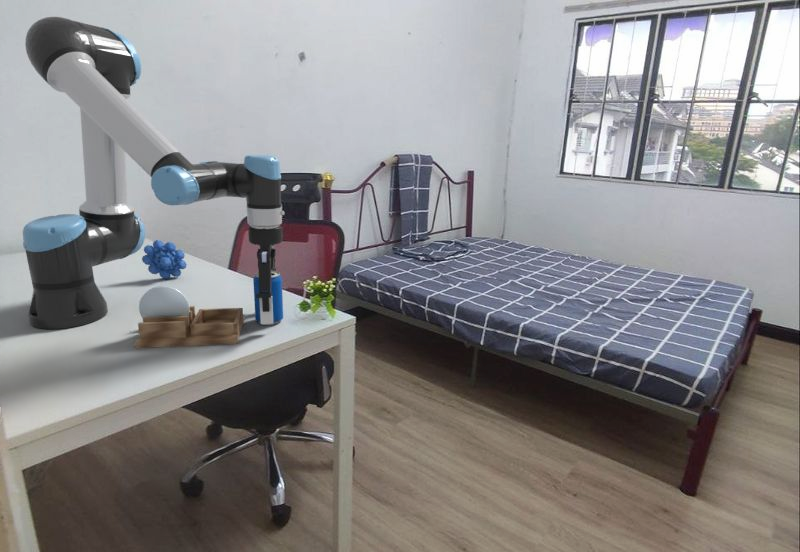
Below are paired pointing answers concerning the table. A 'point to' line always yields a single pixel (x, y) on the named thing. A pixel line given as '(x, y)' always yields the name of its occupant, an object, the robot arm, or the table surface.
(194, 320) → the wooden holder tray
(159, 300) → the pale blue plate
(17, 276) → the table surface
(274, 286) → the beverage can
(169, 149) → the robot arm
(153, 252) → the blue bumpy lump
